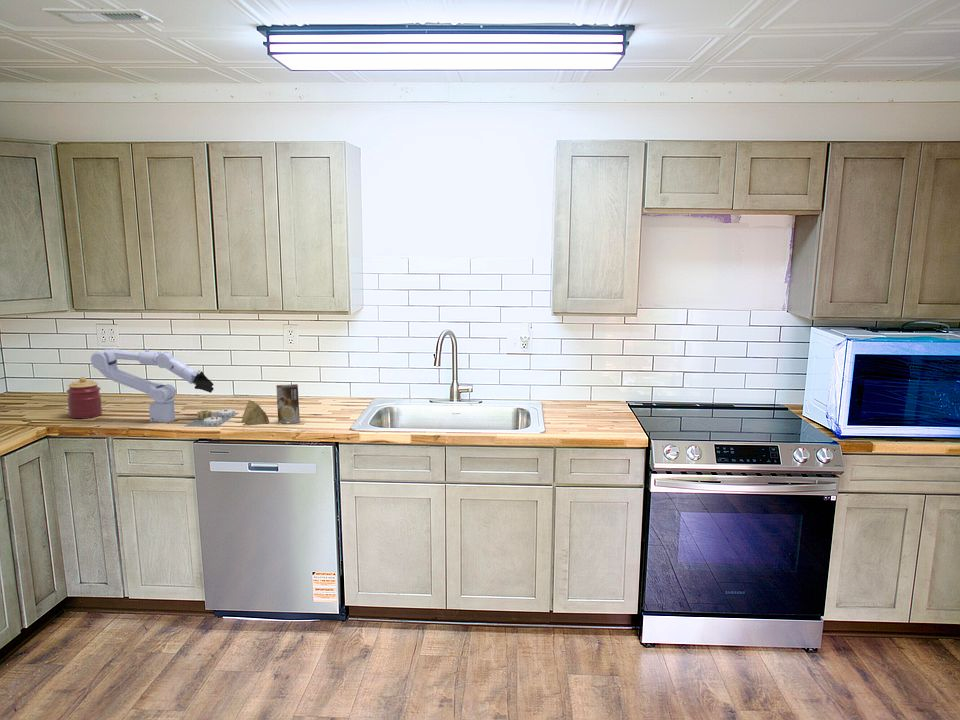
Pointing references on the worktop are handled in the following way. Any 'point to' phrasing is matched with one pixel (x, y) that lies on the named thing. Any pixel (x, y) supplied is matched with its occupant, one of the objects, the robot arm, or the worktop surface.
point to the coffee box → (288, 403)
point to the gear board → (201, 422)
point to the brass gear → (204, 415)
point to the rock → (254, 414)
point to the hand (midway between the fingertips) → (212, 388)
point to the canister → (84, 399)
